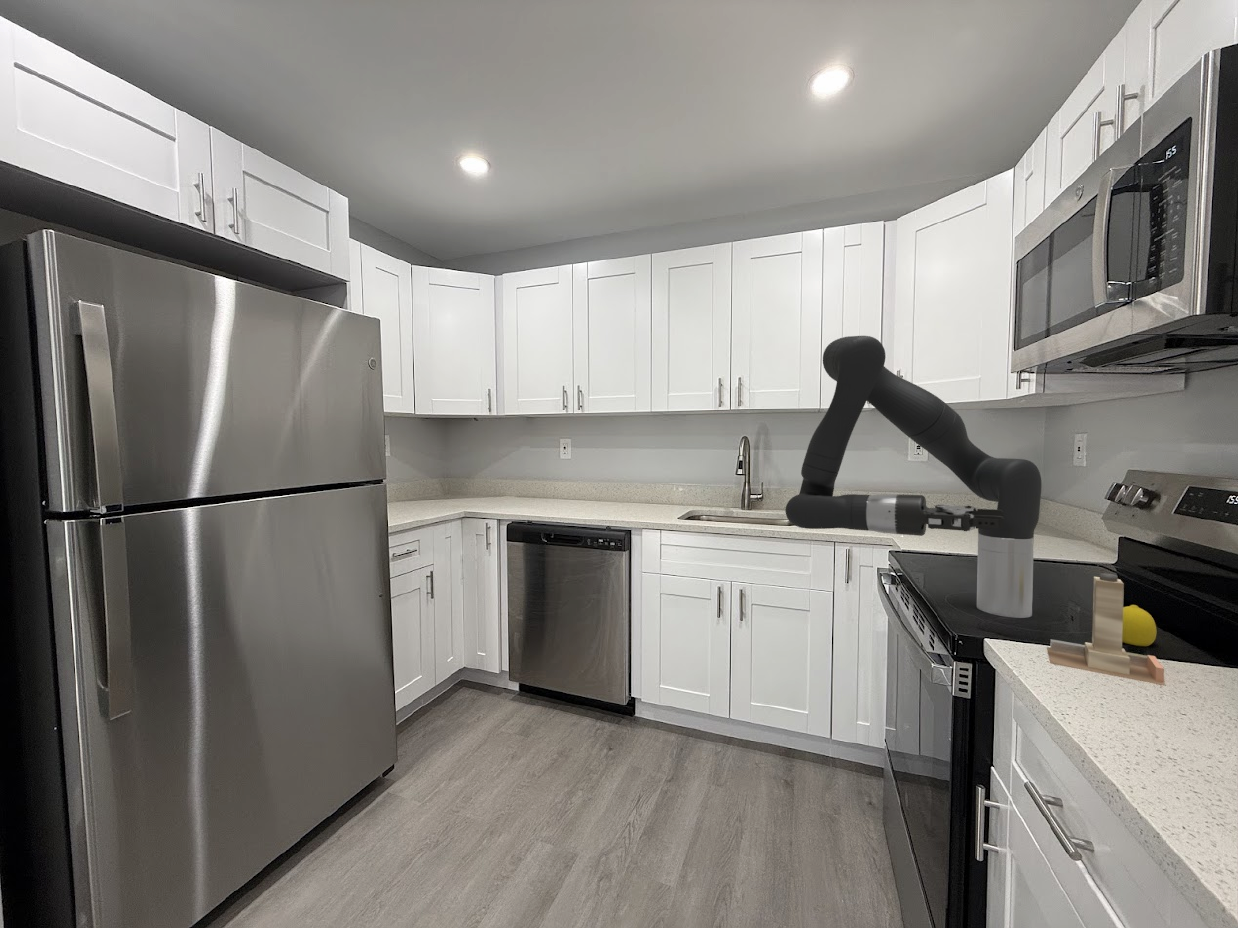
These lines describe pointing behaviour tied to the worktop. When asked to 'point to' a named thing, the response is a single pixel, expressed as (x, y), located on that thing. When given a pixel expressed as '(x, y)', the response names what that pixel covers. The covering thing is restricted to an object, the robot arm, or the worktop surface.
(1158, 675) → the end stop
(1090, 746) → the worktop surface
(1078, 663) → the board
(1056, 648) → the straightedge
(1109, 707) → the worktop surface
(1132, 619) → the lemon
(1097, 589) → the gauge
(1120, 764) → the worktop surface
